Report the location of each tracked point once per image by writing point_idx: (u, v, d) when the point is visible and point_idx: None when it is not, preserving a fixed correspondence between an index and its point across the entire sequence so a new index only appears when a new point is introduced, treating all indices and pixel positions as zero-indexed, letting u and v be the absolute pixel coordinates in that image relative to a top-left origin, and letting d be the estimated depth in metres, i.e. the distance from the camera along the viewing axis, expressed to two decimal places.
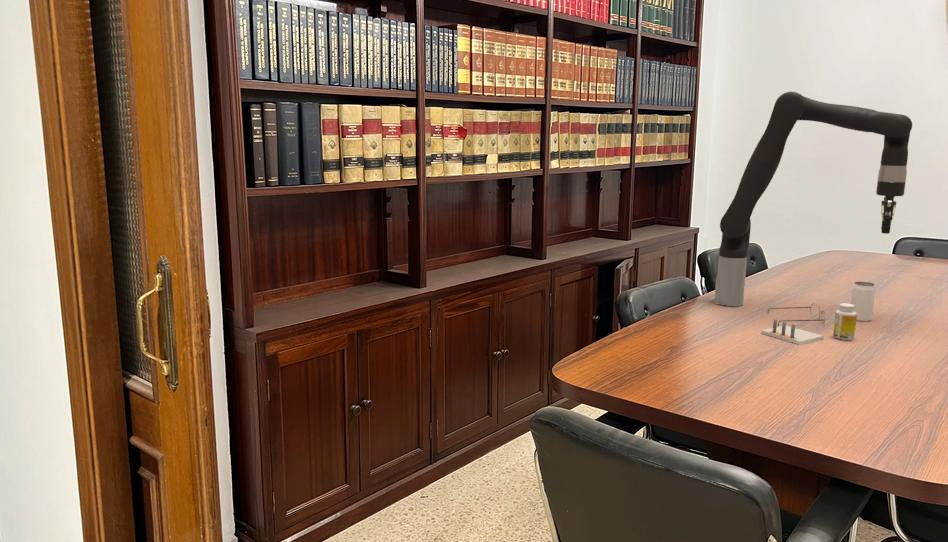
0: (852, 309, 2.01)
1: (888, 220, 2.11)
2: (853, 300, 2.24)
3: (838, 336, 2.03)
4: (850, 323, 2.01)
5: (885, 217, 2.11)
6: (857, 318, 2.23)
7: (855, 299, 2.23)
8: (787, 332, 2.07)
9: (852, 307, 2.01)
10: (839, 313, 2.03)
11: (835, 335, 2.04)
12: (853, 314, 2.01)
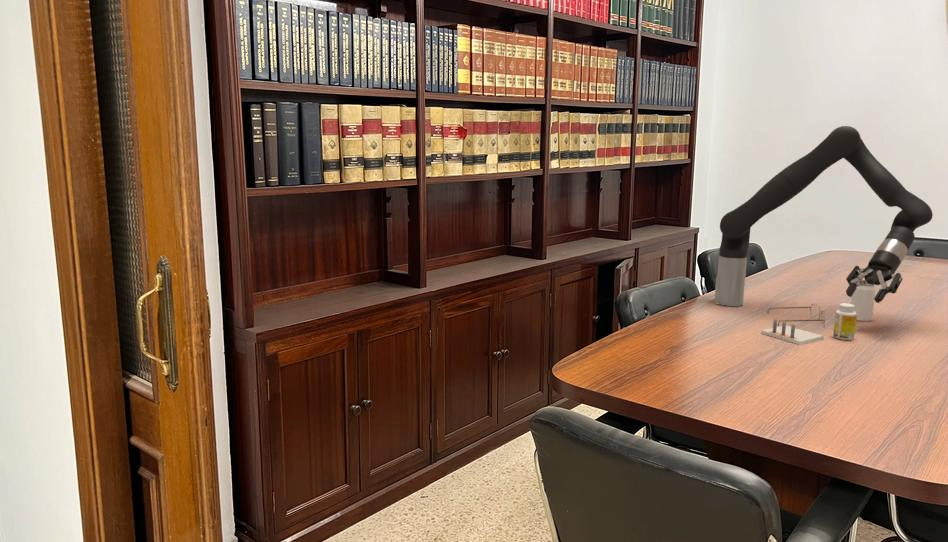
0: (852, 309, 2.01)
1: (890, 291, 2.02)
2: (853, 300, 2.24)
3: (838, 336, 2.03)
4: (850, 323, 2.01)
5: (893, 288, 2.01)
6: (857, 318, 2.23)
7: (855, 299, 2.23)
8: (787, 332, 2.07)
9: (852, 307, 2.01)
10: (839, 313, 2.03)
11: (835, 335, 2.04)
12: (853, 314, 2.01)
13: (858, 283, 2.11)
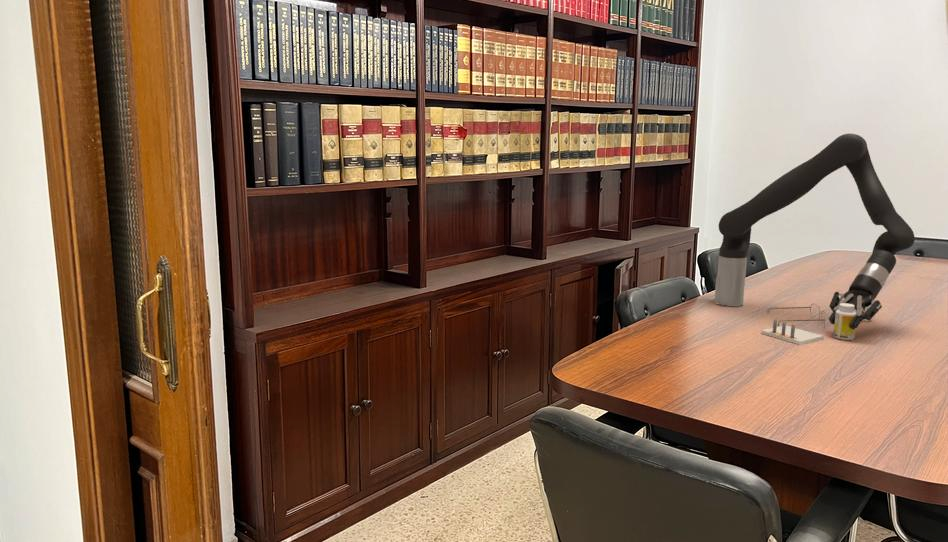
0: (852, 309, 2.01)
1: (865, 318, 2.00)
2: None
3: (838, 336, 2.03)
4: None
5: (869, 314, 1.99)
6: None
7: None
8: (787, 332, 2.07)
9: (852, 307, 2.01)
10: (839, 313, 2.03)
11: (835, 335, 2.04)
12: (853, 314, 2.01)
13: None
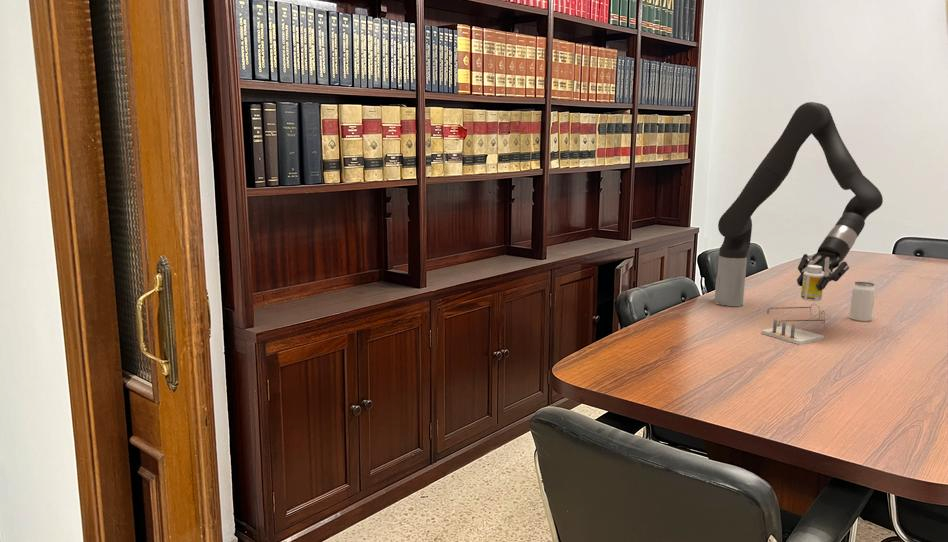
0: (819, 270, 2.01)
1: (832, 279, 2.00)
2: (853, 300, 2.24)
3: (805, 297, 2.03)
4: None
5: (835, 275, 1.99)
6: (857, 318, 2.23)
7: (855, 299, 2.23)
8: (787, 332, 2.07)
9: (819, 268, 2.01)
10: (807, 274, 2.02)
11: (802, 297, 2.04)
12: (820, 275, 2.01)
13: None
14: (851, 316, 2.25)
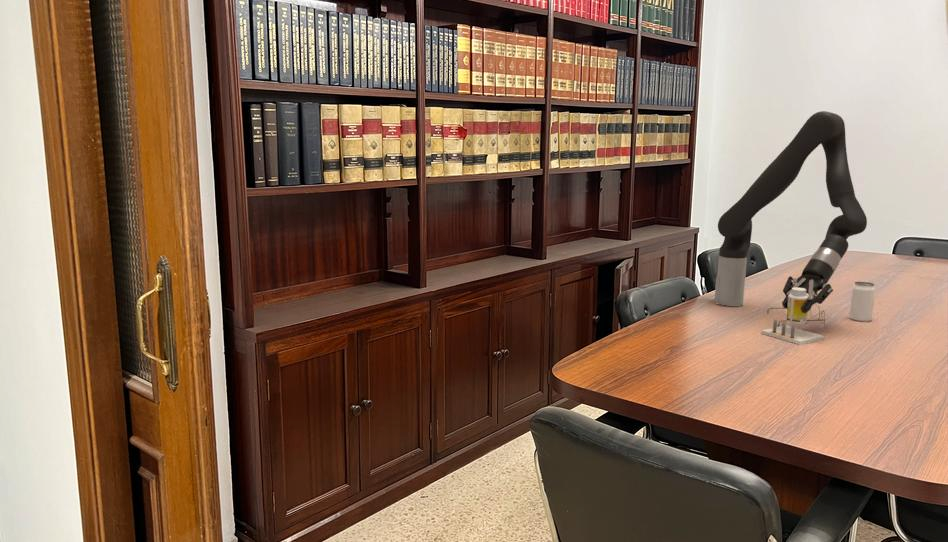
0: (803, 293, 2.03)
1: (816, 301, 2.01)
2: (853, 300, 2.24)
3: (790, 320, 2.05)
4: None
5: (819, 298, 2.00)
6: (857, 318, 2.23)
7: (855, 299, 2.23)
8: (787, 332, 2.07)
9: (803, 291, 2.02)
10: (791, 297, 2.04)
11: (788, 319, 2.06)
12: (804, 298, 2.02)
13: None
14: (851, 316, 2.25)
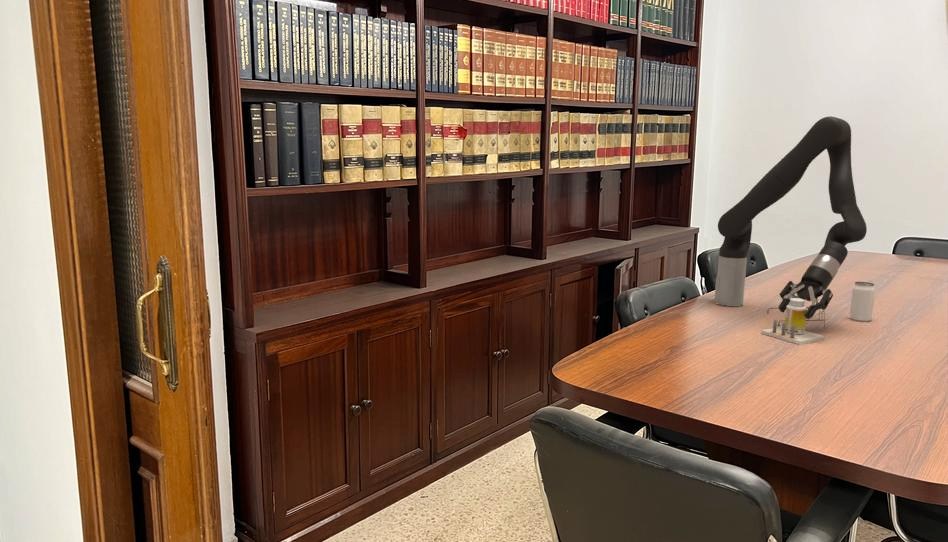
0: (802, 304, 2.04)
1: (820, 308, 2.01)
2: (853, 300, 2.24)
3: (788, 330, 2.06)
4: (800, 317, 2.03)
5: (823, 304, 2.00)
6: (857, 318, 2.23)
7: (855, 299, 2.23)
8: None
9: (802, 302, 2.03)
10: (789, 308, 2.05)
11: (786, 329, 2.07)
12: (803, 309, 2.03)
13: None
14: (851, 316, 2.25)
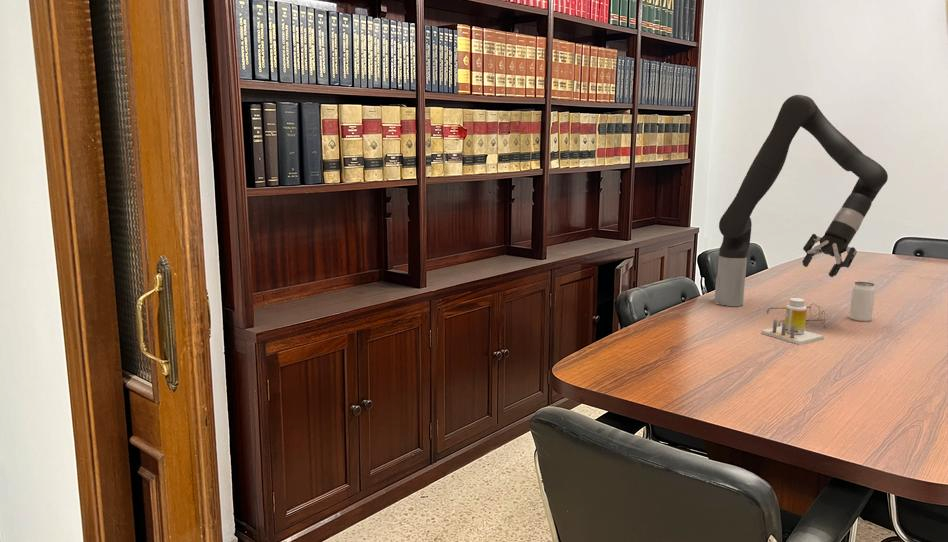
0: (802, 304, 2.04)
1: (844, 266, 2.08)
2: (853, 300, 2.24)
3: (788, 330, 2.06)
4: (800, 317, 2.03)
5: (847, 263, 2.06)
6: (857, 318, 2.23)
7: (855, 299, 2.23)
8: None
9: (802, 302, 2.03)
10: (789, 308, 2.05)
11: (786, 329, 2.07)
12: (803, 309, 2.03)
13: (814, 252, 2.15)
14: (851, 316, 2.25)
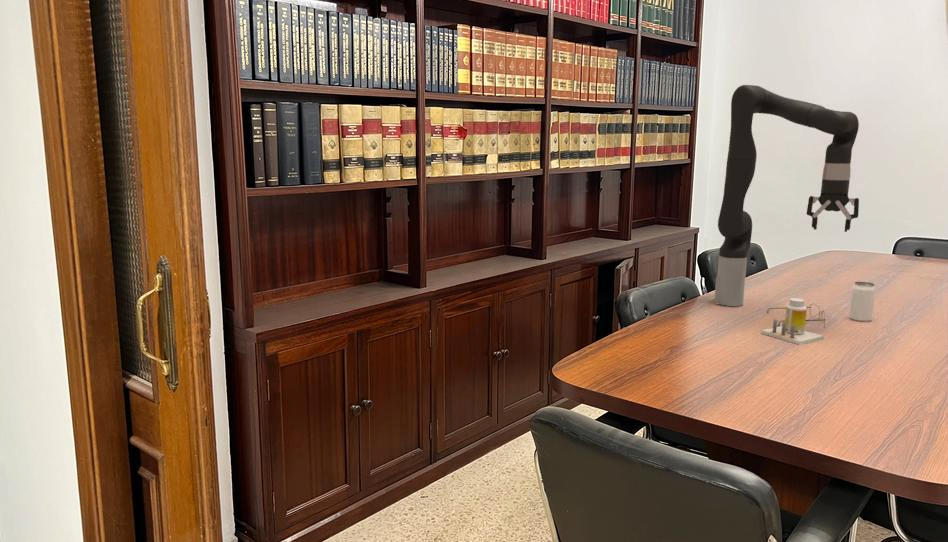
0: (802, 304, 2.04)
1: (854, 217, 2.11)
2: (853, 300, 2.24)
3: (788, 330, 2.06)
4: (800, 317, 2.03)
5: (857, 215, 2.09)
6: (857, 318, 2.23)
7: (855, 299, 2.23)
8: None
9: (802, 302, 2.03)
10: (789, 308, 2.05)
11: (786, 329, 2.07)
12: (803, 309, 2.03)
13: None
14: (851, 316, 2.25)
